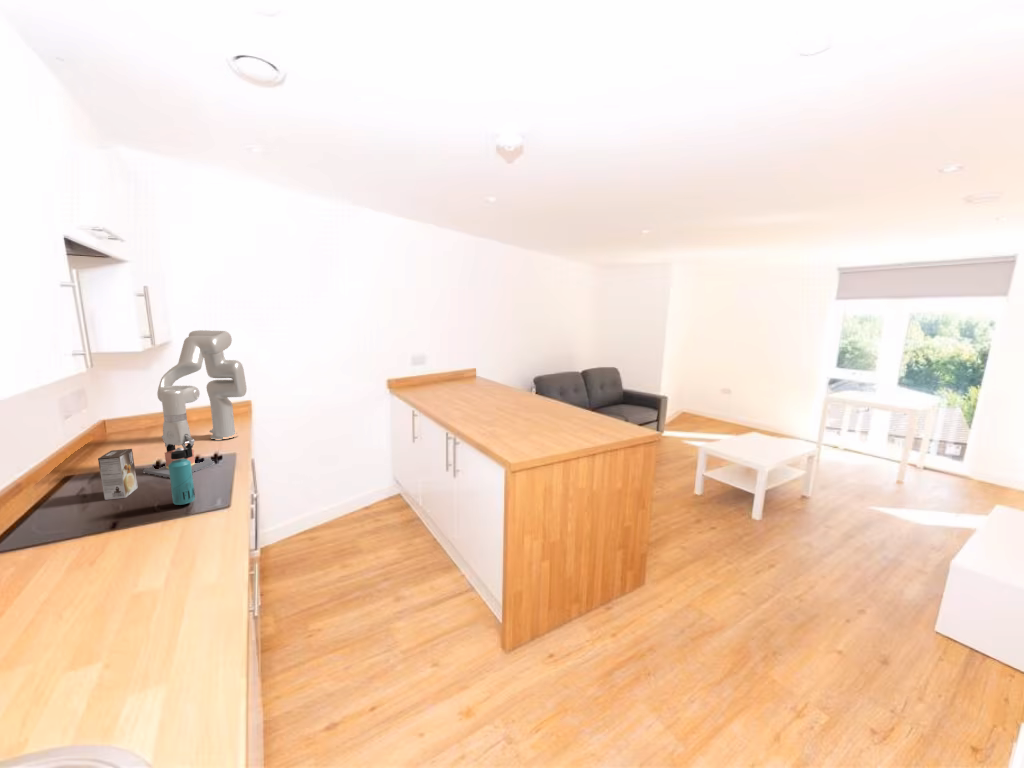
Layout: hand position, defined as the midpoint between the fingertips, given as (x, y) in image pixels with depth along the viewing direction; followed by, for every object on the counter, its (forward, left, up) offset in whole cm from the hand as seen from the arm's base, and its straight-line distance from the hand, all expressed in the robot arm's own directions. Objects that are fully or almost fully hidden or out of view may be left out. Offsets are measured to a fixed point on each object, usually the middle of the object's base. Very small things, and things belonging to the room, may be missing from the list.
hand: (180, 456), depth 176 cm
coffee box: (+5, -25, -6) cm, 26 cm away
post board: (0, 0, -6) cm, 6 cm away
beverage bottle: (+35, -24, -6) cm, 43 cm away
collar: (0, 0, -4) cm, 4 cm away
